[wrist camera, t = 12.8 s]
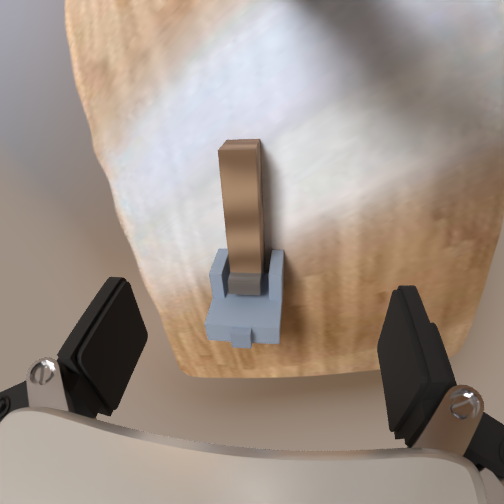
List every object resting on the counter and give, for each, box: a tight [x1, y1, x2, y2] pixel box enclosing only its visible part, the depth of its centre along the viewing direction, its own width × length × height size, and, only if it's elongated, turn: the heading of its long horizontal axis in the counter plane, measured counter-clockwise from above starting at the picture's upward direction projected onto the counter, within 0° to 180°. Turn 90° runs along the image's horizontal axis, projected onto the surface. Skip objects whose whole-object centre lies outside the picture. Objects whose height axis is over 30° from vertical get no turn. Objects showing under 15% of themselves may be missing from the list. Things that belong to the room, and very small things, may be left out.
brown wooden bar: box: [218, 139, 265, 295], centre depth 39 cm, size 18×4×7 cm, turn 3°
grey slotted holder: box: [205, 249, 284, 348], centre depth 43 cm, size 7×9×12 cm
